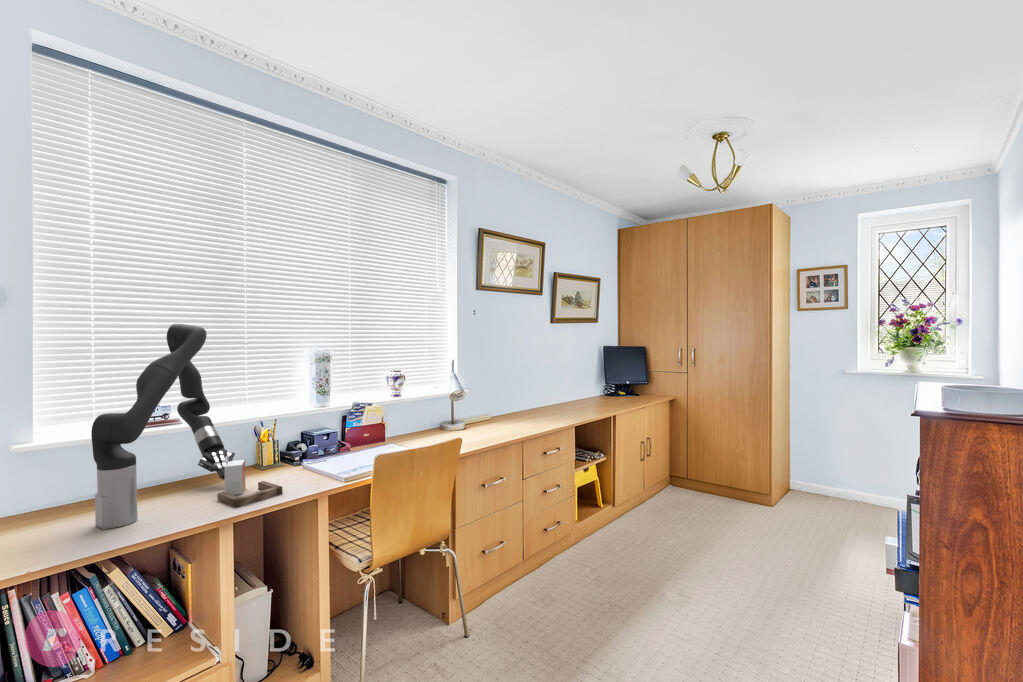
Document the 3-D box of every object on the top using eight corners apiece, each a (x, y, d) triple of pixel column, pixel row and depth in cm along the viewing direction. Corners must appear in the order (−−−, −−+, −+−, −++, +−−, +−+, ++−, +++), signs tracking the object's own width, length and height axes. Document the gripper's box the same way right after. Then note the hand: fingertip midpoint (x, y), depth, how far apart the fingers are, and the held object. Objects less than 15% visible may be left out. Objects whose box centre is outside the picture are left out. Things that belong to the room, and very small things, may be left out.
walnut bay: (236, 507, 158) (235, 500, 158) (217, 500, 164) (217, 493, 164) (282, 493, 171) (282, 486, 171) (263, 487, 178) (263, 480, 178)
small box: (242, 494, 171) (242, 464, 170) (224, 496, 169) (224, 466, 168) (246, 487, 178) (245, 459, 178) (228, 489, 176) (228, 460, 176)
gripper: (192, 438, 177) (209, 476, 170) (230, 431, 188) (247, 467, 181) (186, 450, 180) (202, 488, 173) (223, 443, 191) (240, 479, 184)
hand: (225, 478), depth 177 cm, fingers closed
